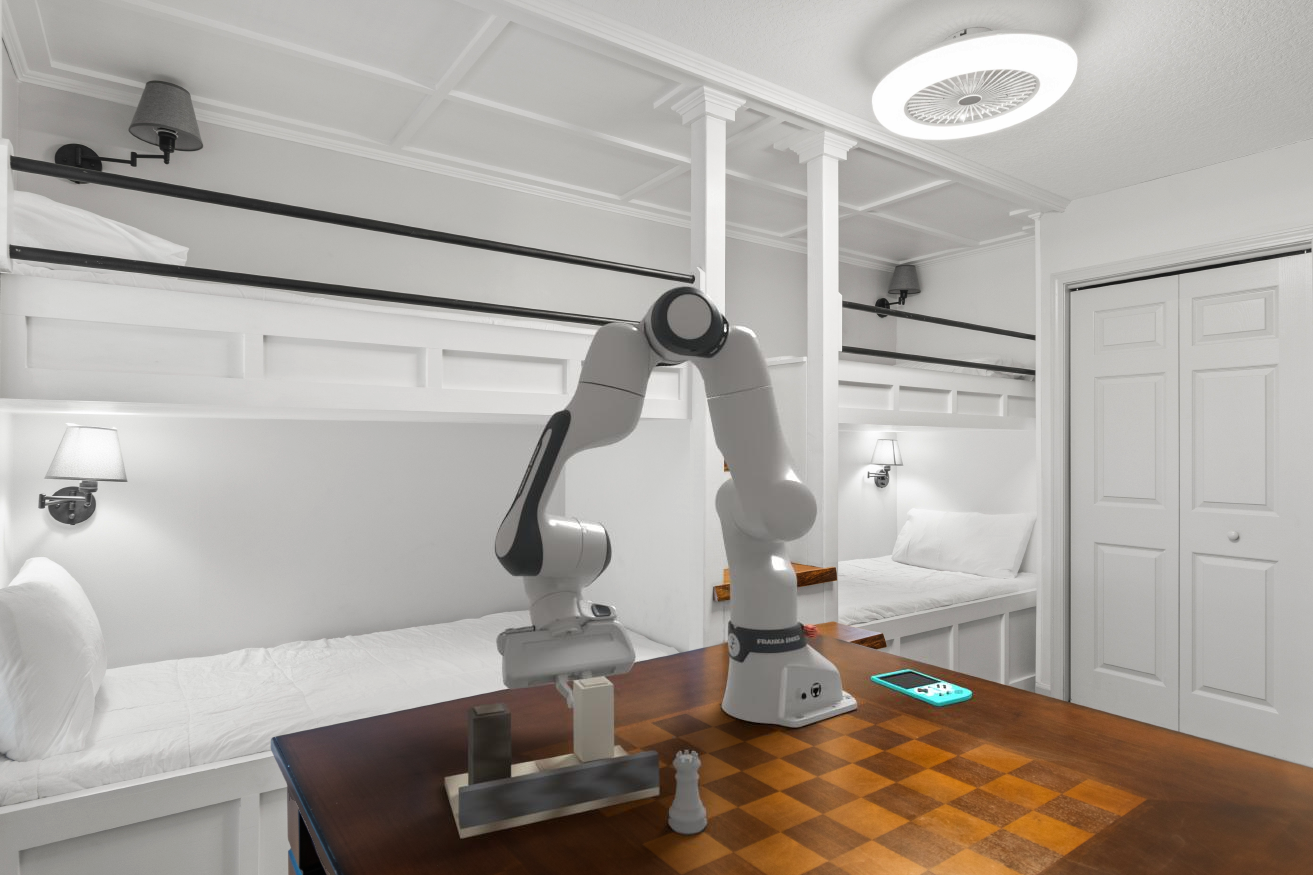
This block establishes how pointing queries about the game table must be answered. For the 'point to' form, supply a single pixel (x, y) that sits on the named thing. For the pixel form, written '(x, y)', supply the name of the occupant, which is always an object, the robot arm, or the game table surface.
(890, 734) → the game table surface
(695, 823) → the rook chess piece
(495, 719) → the ebony key
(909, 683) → the handheld game console
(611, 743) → the ivory key
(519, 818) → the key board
